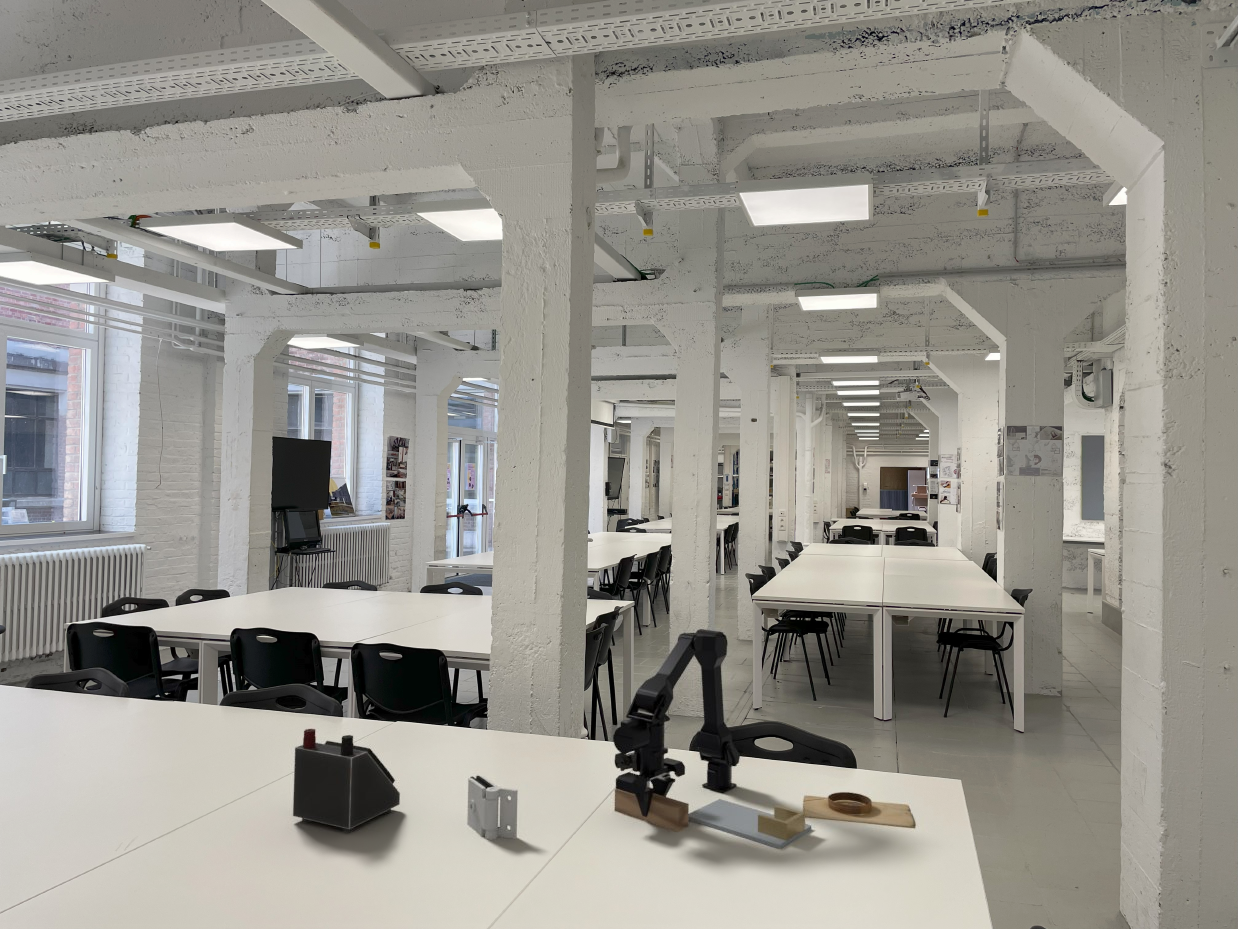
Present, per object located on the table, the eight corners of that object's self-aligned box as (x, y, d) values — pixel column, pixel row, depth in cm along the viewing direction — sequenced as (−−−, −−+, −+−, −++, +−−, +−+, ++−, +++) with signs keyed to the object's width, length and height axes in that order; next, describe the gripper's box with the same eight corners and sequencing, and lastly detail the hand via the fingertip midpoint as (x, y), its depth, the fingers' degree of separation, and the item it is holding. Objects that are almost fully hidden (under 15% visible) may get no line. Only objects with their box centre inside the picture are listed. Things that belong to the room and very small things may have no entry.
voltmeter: (400, 810, 191) (402, 722, 192) (349, 836, 176) (351, 740, 177) (346, 798, 198) (348, 713, 198) (292, 822, 183) (295, 730, 184)
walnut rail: (625, 806, 195) (625, 785, 196) (688, 826, 184) (688, 803, 184) (614, 811, 192) (614, 789, 193) (677, 832, 181) (677, 808, 181)
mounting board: (719, 802, 199) (719, 799, 199) (811, 829, 183) (811, 825, 183) (685, 819, 188) (685, 815, 188) (779, 849, 172) (779, 845, 173)
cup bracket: (776, 821, 185) (776, 805, 186) (804, 829, 181) (805, 813, 181) (757, 831, 179) (757, 815, 179) (786, 840, 175) (786, 823, 175)
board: (800, 820, 190) (800, 806, 190) (800, 797, 205) (800, 784, 205) (916, 831, 185) (916, 816, 185) (907, 807, 199) (907, 793, 200)
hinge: (517, 838, 176) (518, 790, 177) (497, 845, 172) (498, 796, 173) (478, 819, 186) (479, 774, 186) (458, 826, 182) (459, 779, 182)
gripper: (649, 728, 201) (648, 794, 200) (597, 745, 187) (596, 816, 186) (686, 737, 194) (685, 806, 193) (636, 755, 180) (635, 829, 179)
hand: (650, 813), depth 188 cm, fingers closed on walnut rail, 4 cm apart
